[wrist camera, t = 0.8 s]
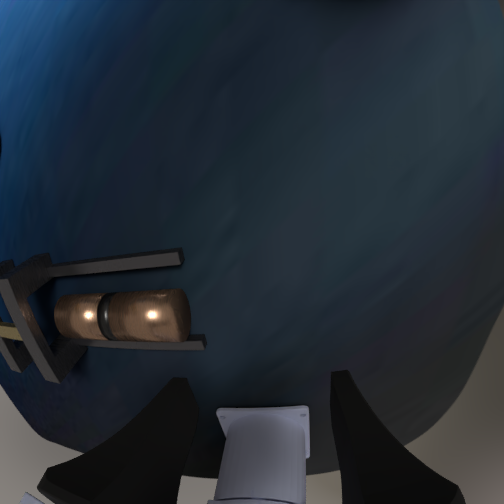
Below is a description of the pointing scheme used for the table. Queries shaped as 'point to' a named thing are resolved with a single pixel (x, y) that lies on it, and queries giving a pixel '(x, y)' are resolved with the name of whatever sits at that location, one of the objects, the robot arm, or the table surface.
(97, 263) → the metal clamp tool
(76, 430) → the table surface
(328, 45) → the table surface
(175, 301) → the tube
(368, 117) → the table surface
